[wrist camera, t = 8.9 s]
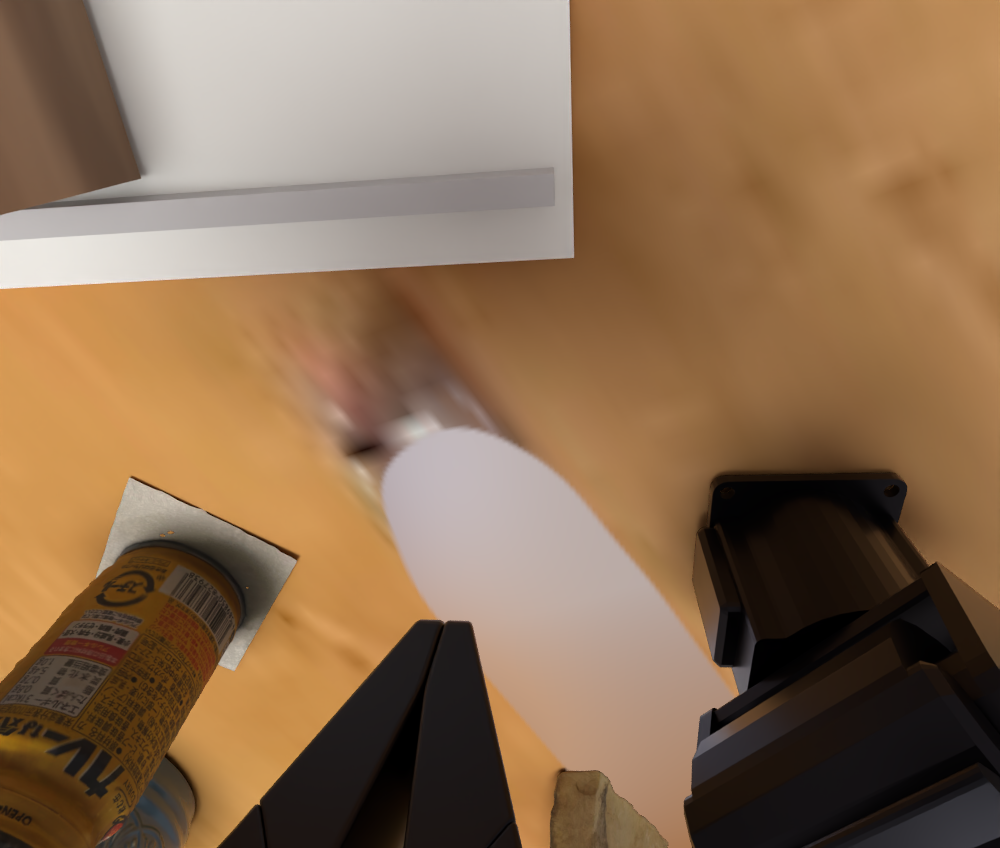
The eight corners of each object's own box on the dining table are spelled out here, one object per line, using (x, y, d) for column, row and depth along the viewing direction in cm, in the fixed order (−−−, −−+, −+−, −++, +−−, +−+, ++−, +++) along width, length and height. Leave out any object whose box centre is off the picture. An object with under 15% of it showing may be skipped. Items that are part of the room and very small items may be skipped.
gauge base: (563, -252, 14) (567, -445, 9) (573, 249, 19) (579, 316, 14) (-325, -127, 16) (-736, -219, 11) (-99, 286, 22) (-307, 354, 16)
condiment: (87, 603, 29) (-179, 903, 18) (131, 474, 25) (-173, 763, 15) (236, 667, 30) (67, 981, 20) (300, 555, 26) (132, 872, 16)
